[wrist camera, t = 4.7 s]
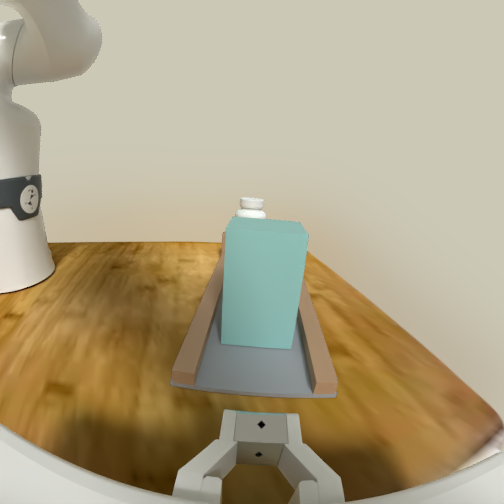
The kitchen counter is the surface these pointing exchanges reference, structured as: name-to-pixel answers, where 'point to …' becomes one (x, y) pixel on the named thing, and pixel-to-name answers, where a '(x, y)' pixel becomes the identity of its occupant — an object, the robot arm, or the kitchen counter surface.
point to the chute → (253, 354)
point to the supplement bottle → (251, 208)
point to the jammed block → (262, 281)
